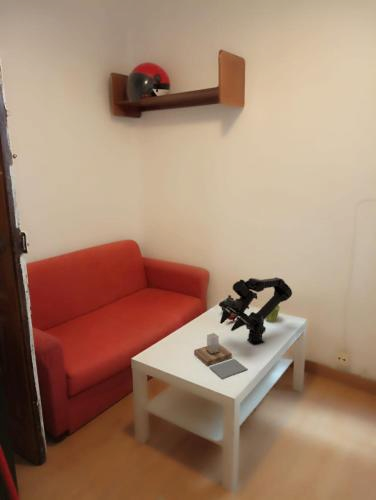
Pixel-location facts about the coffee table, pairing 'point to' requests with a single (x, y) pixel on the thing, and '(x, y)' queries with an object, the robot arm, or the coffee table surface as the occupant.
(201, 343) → the coffee table surface
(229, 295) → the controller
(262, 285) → the robot arm
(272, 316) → the plant pot
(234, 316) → the decorative bird figurine
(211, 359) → the brown wooden frame
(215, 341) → the steel key bar
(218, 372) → the grey mat
